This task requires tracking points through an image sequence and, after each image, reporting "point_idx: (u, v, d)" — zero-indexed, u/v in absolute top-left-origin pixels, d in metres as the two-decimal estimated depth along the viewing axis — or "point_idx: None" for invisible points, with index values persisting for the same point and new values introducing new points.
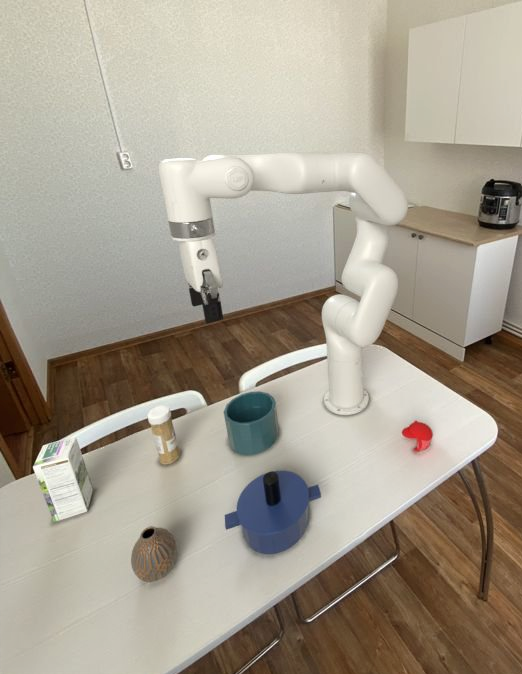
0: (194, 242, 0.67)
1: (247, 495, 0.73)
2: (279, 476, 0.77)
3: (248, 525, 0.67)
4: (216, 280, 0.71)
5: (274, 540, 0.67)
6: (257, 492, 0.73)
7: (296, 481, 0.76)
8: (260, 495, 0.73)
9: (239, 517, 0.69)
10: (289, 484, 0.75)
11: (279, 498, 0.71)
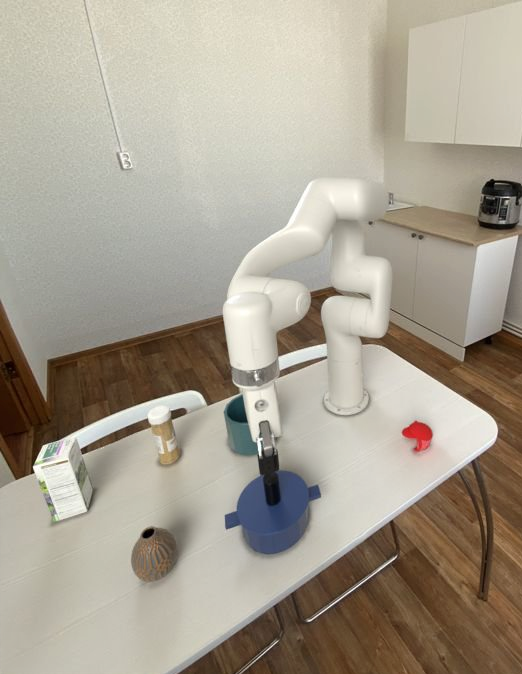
0: (253, 392, 0.58)
1: (247, 495, 0.73)
2: (279, 476, 0.77)
3: (248, 525, 0.67)
4: (274, 431, 0.61)
5: (274, 540, 0.67)
6: (257, 492, 0.73)
7: (296, 481, 0.76)
8: (260, 495, 0.73)
9: (239, 517, 0.69)
10: (289, 484, 0.75)
11: (279, 498, 0.71)
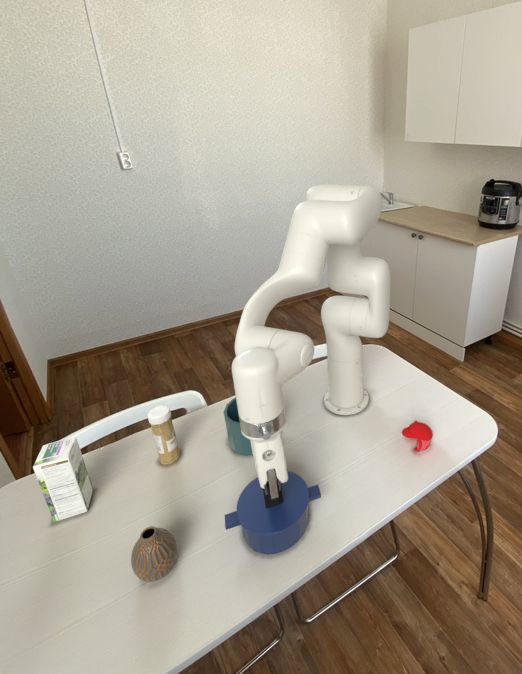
0: (260, 443, 0.62)
1: (247, 495, 0.73)
2: None
3: (248, 525, 0.67)
4: (281, 478, 0.65)
5: (274, 540, 0.67)
6: (257, 492, 0.73)
7: (296, 481, 0.76)
8: (260, 495, 0.73)
9: (239, 517, 0.69)
10: (289, 484, 0.75)
11: None
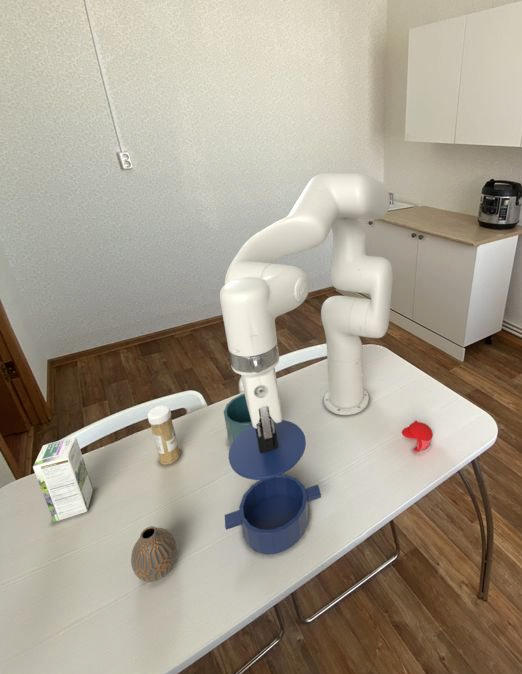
0: (252, 378, 0.58)
1: (240, 442, 0.69)
2: (274, 424, 0.73)
3: (241, 470, 0.63)
4: (274, 417, 0.61)
5: (274, 540, 0.67)
6: (251, 439, 0.70)
7: (292, 429, 0.72)
8: (254, 442, 0.69)
9: (231, 462, 0.65)
10: (284, 431, 0.71)
11: None
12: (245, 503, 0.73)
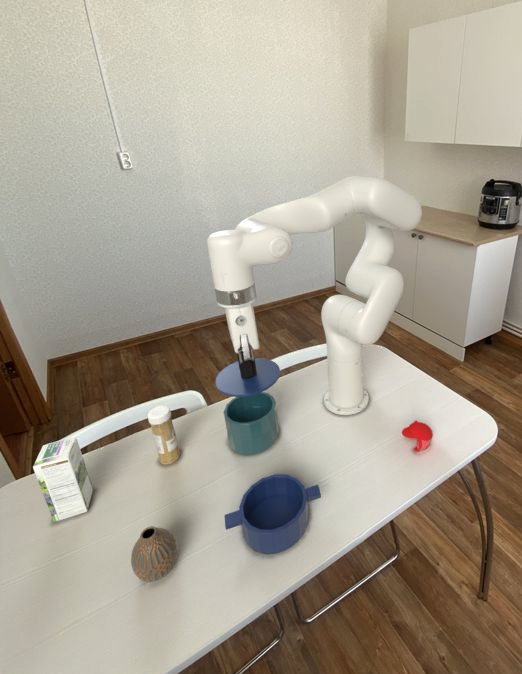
0: (233, 309, 0.72)
1: (225, 373, 0.83)
2: None
3: (225, 390, 0.77)
4: (252, 344, 0.75)
5: (274, 540, 0.67)
6: (234, 371, 0.84)
7: (269, 364, 0.86)
8: (237, 373, 0.83)
9: (217, 386, 0.79)
10: (263, 365, 0.85)
11: None
12: (245, 503, 0.73)
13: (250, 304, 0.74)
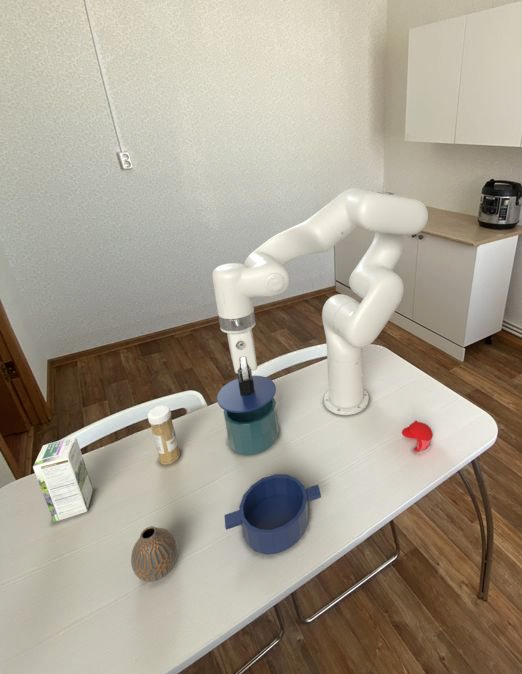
0: (234, 335, 0.80)
1: (226, 389, 0.91)
2: (253, 379, 0.95)
3: (225, 406, 0.86)
4: (251, 365, 0.83)
5: (274, 540, 0.67)
6: (234, 388, 0.92)
7: (266, 381, 0.94)
8: (236, 389, 0.91)
9: (219, 401, 0.87)
10: (260, 383, 0.94)
11: None
12: (245, 503, 0.73)
13: (249, 330, 0.82)
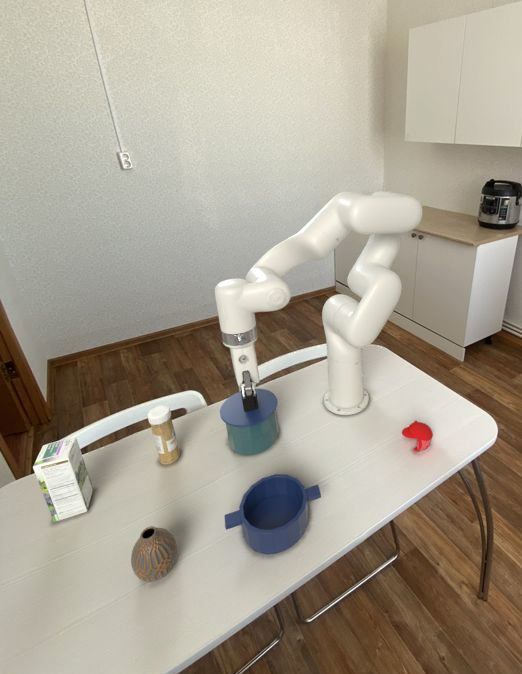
0: (237, 349, 0.82)
1: (229, 403, 0.93)
2: (255, 392, 0.97)
3: (228, 420, 0.87)
4: (253, 379, 0.84)
5: (274, 540, 0.67)
6: (237, 401, 0.93)
7: (268, 394, 0.96)
8: (239, 403, 0.93)
9: (221, 416, 0.89)
10: (262, 396, 0.95)
11: None
12: (245, 503, 0.73)
13: (252, 344, 0.83)
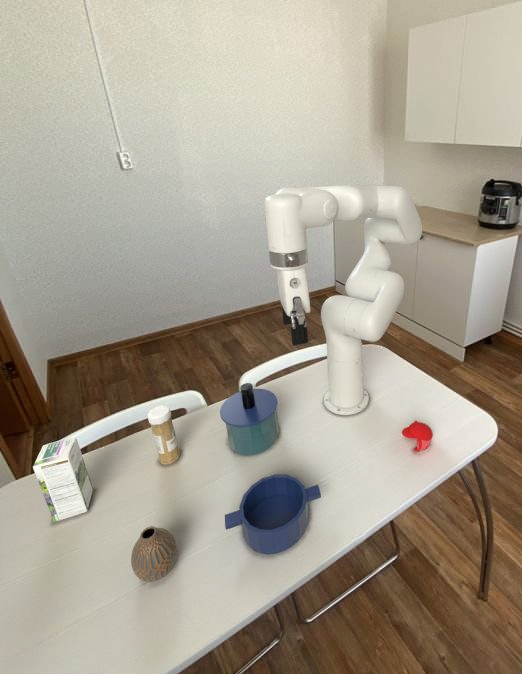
0: (288, 271, 0.73)
1: (229, 403, 0.93)
2: (255, 392, 0.97)
3: (228, 420, 0.87)
4: (304, 307, 0.76)
5: (274, 540, 0.67)
6: (237, 401, 0.93)
7: (268, 394, 0.96)
8: (239, 403, 0.93)
9: (221, 416, 0.89)
10: (262, 396, 0.95)
11: (253, 404, 0.91)
12: (245, 503, 0.73)
13: (303, 267, 0.75)
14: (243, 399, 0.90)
